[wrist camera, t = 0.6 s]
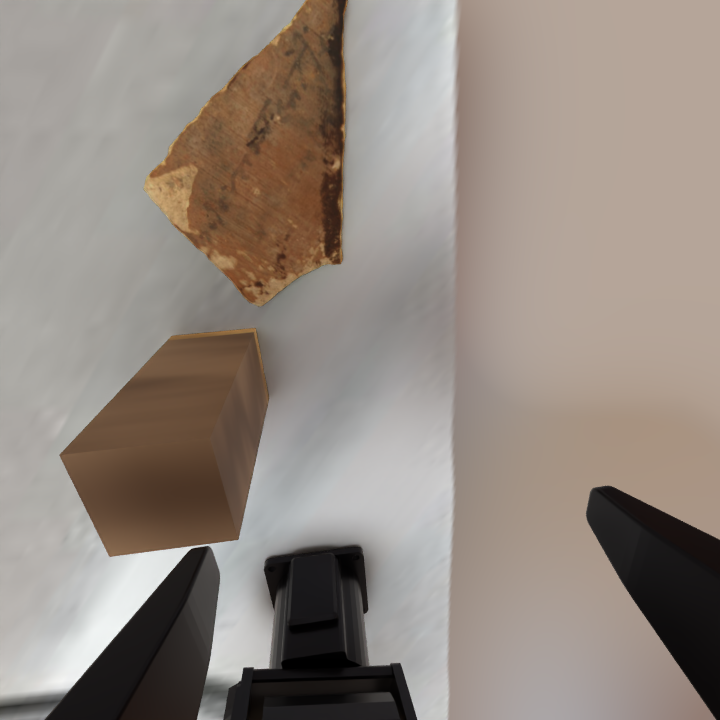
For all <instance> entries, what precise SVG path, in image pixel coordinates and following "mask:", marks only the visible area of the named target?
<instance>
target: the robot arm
mask: <svg viewBox="0 0 720 720" xmlns="http://www.w3.org/2000/svg"><path fill="white" fill-rule="evenodd" d="M586 517H587V521H588V523H589V525H590V527H591V529H592V531H593V532H594V534H595V535H596V537H597V539H598V541H599V543H600V545H601V546H602V548H603V550H604V552H605V554H606V555H607V557H608V558H609V561H610V562H611V564H612V566H613V568H614V569H615V571H616V573H617V575H618V576H619V578H620V580H621V581H622V583H623V585H624V586H625V587H626V589H627V591H628V592H629V594H630V595H631V597H632V598H633V600H634V601H635V603H636V604H637V606H638V607H639V609H640V610H641V611H642V613H643V614H644V616H645V617H646V619H647V620H648V621H649V623H650V624H651V626H652V627H653V629H654V630H655V632H656V633H657V635H658V636H659V637H660V639H661V640H662V642H663V643H664V645H665V646H666V648H667V649H668V651H669V652H670V653H671V655H672V656H673V658H674V659H675V661H676V662H677V664H678V665H679V666H680V668H681V669H682V671H683V672H684V674H685V675H686V677H687V678H688V679H689V681H690V682H691V684H692V685H693V687H694V688H695V690H696V691H697V693H698V694H699V695H700V697H701V698H702V700H703V701H704V703H705V704H706V705H707V707H708V708H709V710H710V711H711V713H712V714H713V716H714V717H715V719H716V720H720V540H719V539H717V538H715V537H713V536H711V535H709V534H707V533H705V532H703V531H701V530H699V529H697V528H695V527H693V526H691V525H689V524H687V523H685V522H683V521H681V520H679V519H677V518H675V517H673V516H671V515H669V514H667V513H665V512H662V511H661V510H659V509H656V508H654V507H652V506H650V505H648V504H646V503H644V502H642V501H640V500H638V499H636V498H634V497H632V496H630V495H628V494H626V493H624V492H622V491H620V490H618V489H616V488H614V487H612V486H602V487H596V488H593V489H592V490H591V492H590V496H589V501H588V506H587V511H586ZM264 572H265V576H266V580H267V584H268V588H269V592H270V596H271V600H272V604H273V608H274V622H273V633H272V643H271V654H270V664H269V669H254V667H246V668H243V674H242V680H241V681H239V683H238V684H236V685H234V686H232V687H231V688H229V691H228V697H227V703H226V709H225V714H224V720H417V717H416V714H415V710H414V707H413V704H412V700H411V697H410V693H409V690H408V687H407V683H406V680H405V677H404V673H403V670H402V667H401V664H400V663H391V664H390V665H383V666H369V659H368V650H367V641H366V632H365V623H364V614H365V613H367V611H368V601H367V590H366V578H365V567H364V556H363V550H362V549H361V548H359V547H351V548H344V549H337V550H329V551H322V552H315V553H307V554H300V555H293V556H285V557H278V558H271V559H268V560H266V562H265V566H264ZM219 584H220V573H219V569H218V566H217V563H216V560H215V557H214V554H213V551H212V549H211V547H209V546H205V547H198V548H193V549H191V550H190V551H189V552H188V553H187V554H186V555H185V556H184V557H183V558H182V560H181V561H180V562H179V563H178V564H177V565H176V567H175V568H174V569H173V570H172V571H171V572H170V574H169V575H168V576H167V577H166V578H165V579H164V581H163V582H162V583H161V584H160V585H159V586H158V588H157V589H156V590H155V591H154V592H153V593H152V595H151V596H150V597H149V598H148V599H147V600H146V602H145V603H144V604H143V605H142V606H141V608H140V609H139V610H138V611H137V612H136V613H135V615H134V616H133V617H132V618H131V619H130V620H129V622H128V623H127V624H126V625H125V626H124V627H123V629H122V630H121V631H120V632H119V633H118V634H117V636H116V637H115V638H114V639H113V640H112V641H111V643H110V644H109V645H108V646H107V647H106V648H105V650H104V651H103V652H102V653H101V654H100V655H99V657H98V658H97V659H96V660H95V661H94V662H93V664H92V665H91V666H90V667H89V668H88V669H87V671H86V672H85V673H84V674H83V675H82V676H81V678H80V679H79V680H78V681H77V682H76V683H75V685H74V686H73V687H72V688H71V689H70V690H69V692H68V693H67V694H66V695H65V696H64V698H63V699H62V700H61V701H60V702H59V703H58V705H57V706H56V707H55V708H54V709H53V710H52V712H51V713H50V714H49V715H48V716H47V717H46V719H45V720H197V716H198V712H199V707H200V703H201V698H202V694H203V689H204V685H205V680H206V676H207V671H208V666H209V661H210V656H211V649H212V642H213V633H214V625H215V617H216V609H217V600H218V592H219Z"/></svg>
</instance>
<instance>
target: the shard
mask: <svg viewBox="0 0 720 720" xmlns="http://www.w3.org/2000/svg"><path fill="white" fill-rule="evenodd" d="M347 1H348V0H306V1H305V2H304V4H303V5H302V6H301V8H300V9H299V11H298V12H297V13H296V15H295V16H294V18H293V19H292V21H291V22H290V24H288V25H287V26H286V27H284V28H283V29H282V31H281V32H280V33H279V34H278V35H277V36H276V37H275V38H274V39H273V40H272V41H271V42H270V44H269V45H267V46H266V47H265V48H264V49H263V50H262V51H261V52H260V53H259V54H258V55H256V56H254V57H253V58H252V59H250V60H249V61H248V62H247V63H245V64H244V65H243V66H242V67H241V68H240V69H239V70H238V72H237V73H236V74H235V75H234V76H233V77H232V78H231V80H230V81H229V82H228V83H227V84H226V85H225V86H224V88H223V89H222V90H220V91H219V92H218V93H216V94H215V95H214V96H212V97H211V99H210V100H209V101H208V102H207V103H206V104H205V106H204V107H202V108H201V110H200V112H199V115H198V116H197V117H196V118H195V119H194V120H193V121H192V122H190V123H188V124H187V125H186V127H185V128H184V130H183V131H182V133H181V134H180V135H179V136H178V138H177V139H176V140H175V141H174V142H173V143H172V144H171V145H170V147H169V150H168V156H167V157H166V158H165V159H164V161H163V162H162V163H160V164H159V165H158V166H157V167H156V168H155V169H154V170H153V171H152V172H151V173H150V174H149V175H148V176H147V177H146V181H145V186H144V191H145V192H146V193H147V194H148V195H149V197H150V198H151V200H152V201H153V202H154V203H155V204H156V205H157V206H159V207H160V209H161V211H162V212H163V213H164V214H165V215H166V216H167V217H168V219H169V220H170V222H171V223H172V224H173V226H174V227H175V228H176V229H177V230H178V231H180V232H181V233H182V234H183V235H184V236H185V237H186V238H187V239H188V240H189V241H190V242H191V243H192V244H193V245H194V246H195V247H196V248H197V249H199V250H200V251H202V252H203V253H204V254H205V255H206V256H207V257H208V259H209V260H210V261H211V262H212V263H214V264H215V266H216V267H217V268H218V269H220V270H221V271H222V272H223V273H224V274H225V275H226V276H227V277H228V278H229V279H230V280H231V281H232V282H233V284H234V285H235V287H236V288H237V290H238V291H239V292H240V293H241V294H242V295H243V297H244V298H245V299H246V300H247V301H249V302H250V303H252V304H255V305H257V306H258V307H260V306H263V305H264V304H265V303H267V302H268V301H269V300H271V299H272V298H273V297H274V296H275V295H276V294H277V293H278V292H280V291H281V290H283V289H284V288H285V287H286V286H288V285H289V284H290V283H291V282H293V281H294V280H296V279H297V278H299V277H300V276H302V275H304V274H306V273H308V272H310V271H312V270H314V269H317V268H319V267H321V266H323V265H327V264H333V265H336V264H341V262H342V260H343V256H342V249H341V245H342V239H341V231H342V220H343V213H342V208H343V156H344V141H345V136H346V134H345V127H344V126H345V106H346V83H345V63H344V58H343V31H344V13H345V10H346V7H347Z"/></svg>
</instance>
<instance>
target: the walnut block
mask: <svg viewBox="0 0 720 720" xmlns="http://www.w3.org/2000/svg"><path fill="white" fill-rule="evenodd" d="M268 401H269V395H268V390H267V385H266V380H265V374H264V369H263V364H262V359H261V353H260V348H259V343H258V338H257V332H256V328H250V329H239V330H229V331H218V332H208V333H197V334H187V335H176V336H171V337H170V338H169V339H168V340H167V342H166V343H165V344H164V345H163V346H162V347H161V348H160V349H159V350H158V351H157V352H156V353H155V354H154V355H153V356H152V357H151V358H150V360H149V361H148V362H147V363H146V364H145V365H144V366H143V367H142V368H141V369H140V370H139V371H138V372H137V373H136V374H135V375H134V377H133V378H132V379H131V380H130V381H129V382H128V383H127V384H126V385H125V386H124V387H123V388H122V389H121V390H120V391H119V392H118V393H117V395H116V396H115V397H114V398H113V399H112V400H111V401H110V402H109V403H108V404H107V405H106V406H105V407H104V408H103V409H102V410H101V411H100V413H99V414H98V415H97V416H96V417H95V418H94V419H93V420H92V421H91V422H90V423H89V424H88V425H87V426H86V427H85V428H84V429H83V431H82V432H81V433H80V434H79V435H78V436H77V437H76V438H75V439H74V440H73V441H72V442H71V443H70V444H69V445H68V446H67V447H66V449H65V450H64V451H63V452H62V453H61V454H60V457H61V459H62V461H63V464H64V466H65V468H66V470H67V472H68V474H69V476H70V478H71V480H72V482H73V484H74V486H75V488H76V490H77V492H78V494H79V496H80V498H81V500H82V502H83V504H84V506H85V508H86V510H87V512H88V514H89V516H90V518H91V520H92V522H93V524H94V526H95V528H96V530H97V532H98V534H99V536H100V538H101V541H102V543H103V545H104V547H105V549H106V551H107V553H108V555H109V557H112V556H119V555H127V554H134V553H142V552H149V551H157V550H165V549H172V548H180V547H187V546H195V545H203V544H210V543H218V542H225V541H233V540H238V539H239V535H240V530H241V525H242V521H243V516H244V512H245V507H246V502H247V498H248V493H249V489H250V484H251V479H252V475H253V470H254V466H255V461H256V456H257V452H258V447H259V443H260V438H261V433H262V429H263V424H264V420H265V415H266V410H267V406H268Z"/></svg>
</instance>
